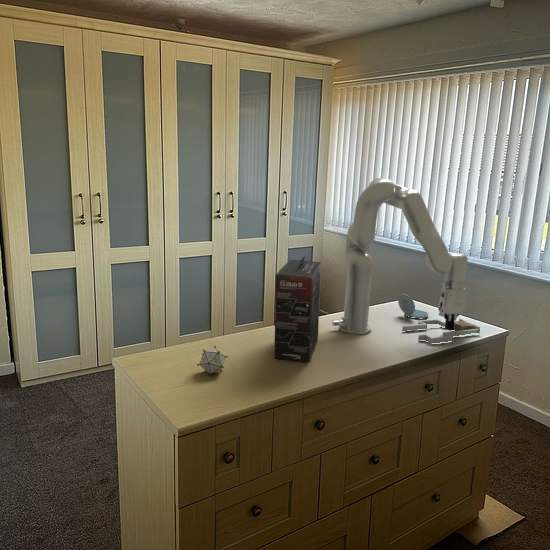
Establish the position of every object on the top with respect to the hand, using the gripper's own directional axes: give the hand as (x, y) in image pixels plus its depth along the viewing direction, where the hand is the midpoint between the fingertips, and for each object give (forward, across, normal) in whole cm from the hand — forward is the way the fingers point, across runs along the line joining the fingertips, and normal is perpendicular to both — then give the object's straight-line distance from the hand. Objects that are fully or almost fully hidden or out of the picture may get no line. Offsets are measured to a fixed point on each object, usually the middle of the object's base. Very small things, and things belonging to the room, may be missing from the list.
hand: (449, 329), depth 204 cm
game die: (+2, -99, -13) cm, 100 cm away
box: (+2, -4, 0) cm, 4 cm away
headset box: (+2, -66, -1) cm, 66 cm away
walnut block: (+2, +6, -1) cm, 6 cm away
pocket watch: (+2, 0, +22) cm, 22 cm away
